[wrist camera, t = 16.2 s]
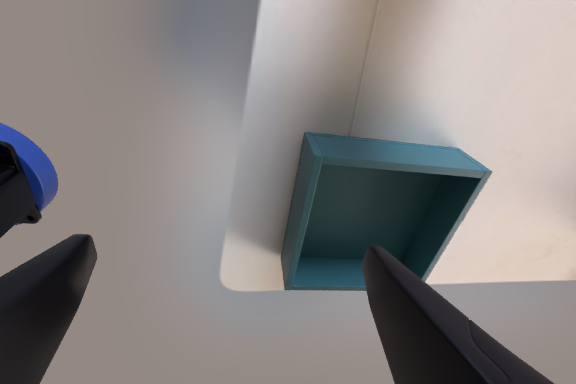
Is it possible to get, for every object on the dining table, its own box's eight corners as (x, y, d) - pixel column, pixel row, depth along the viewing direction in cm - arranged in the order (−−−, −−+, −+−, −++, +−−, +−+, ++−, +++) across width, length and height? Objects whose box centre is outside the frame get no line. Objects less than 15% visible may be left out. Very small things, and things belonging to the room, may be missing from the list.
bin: (280, 256, 28) (284, 290, 25) (304, 131, 21) (314, 155, 18) (401, 260, 31) (419, 291, 27) (459, 148, 24) (493, 171, 20)
